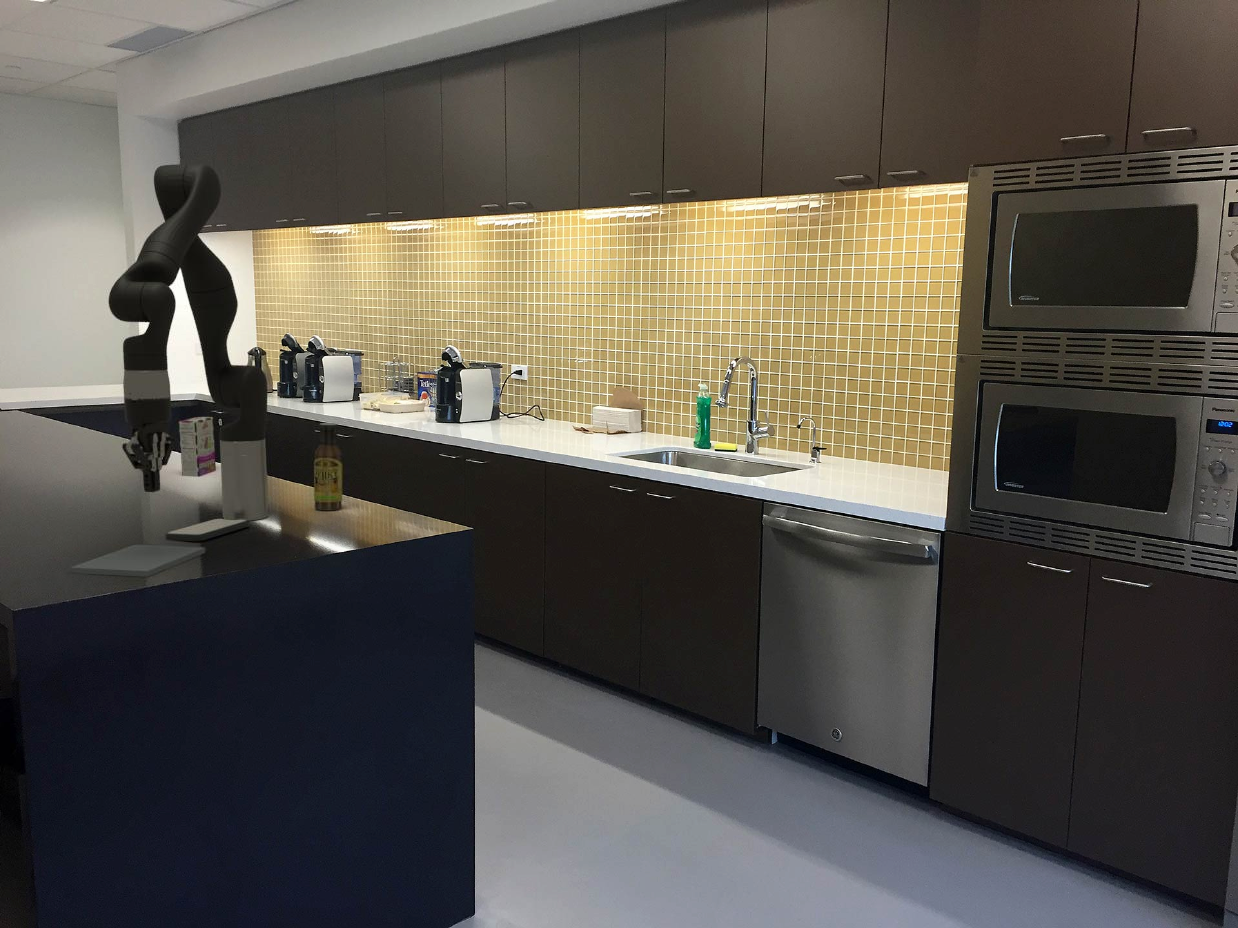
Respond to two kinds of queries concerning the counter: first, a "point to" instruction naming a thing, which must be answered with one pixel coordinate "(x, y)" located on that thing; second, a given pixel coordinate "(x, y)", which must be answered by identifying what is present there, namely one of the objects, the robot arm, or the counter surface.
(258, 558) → the counter surface
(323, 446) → the sauce bottle
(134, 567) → the mat
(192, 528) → the smartphone
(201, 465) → the candy bar box
